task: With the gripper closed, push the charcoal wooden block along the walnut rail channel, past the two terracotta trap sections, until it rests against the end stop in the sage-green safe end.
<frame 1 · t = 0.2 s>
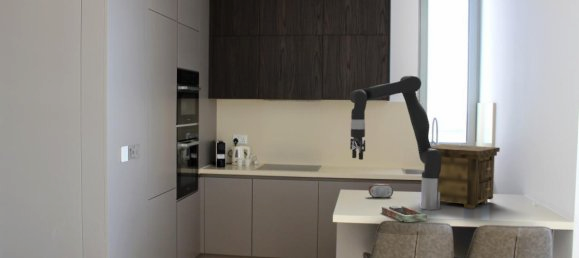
hand: (357, 158, 302), 28 cm above the counter, tool pointing down, fingers open, 8 cm apart
tin: (380, 197, 352), on the counter
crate: (458, 203, 337), on the counter
block: (395, 213, 302), on the counter
track: (403, 216, 293), on the counter
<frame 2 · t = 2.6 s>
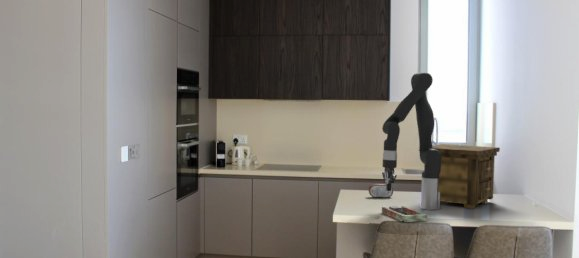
hand: (388, 190, 309), 11 cm above the counter, tool pointing down, fingers closed
nothing on the counter moved.
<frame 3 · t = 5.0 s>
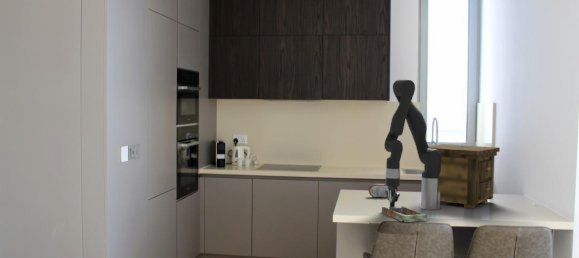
hand: (392, 209, 305), 2 cm above the counter, tool pointing down, fingers closed
block: (395, 213, 301), on the counter, touching gripper
everything else where it was.
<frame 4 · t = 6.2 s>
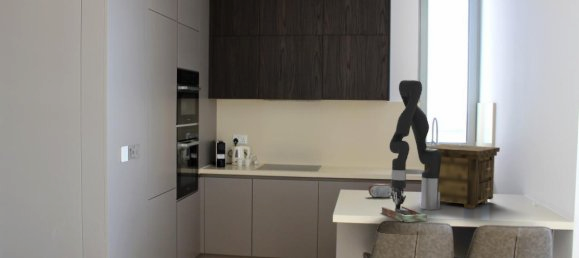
hand: (397, 211, 299), 2 cm above the counter, tool pointing down, fingers closed
block: (401, 216, 295), on the counter, touching gripper
everything else where it was.
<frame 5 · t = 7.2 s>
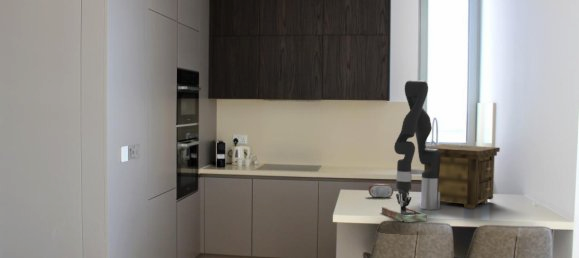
hand: (403, 213, 293), 2 cm above the counter, tool pointing down, fingers closed
block: (407, 218, 289), on the counter, touching gripper
everything else where it was.
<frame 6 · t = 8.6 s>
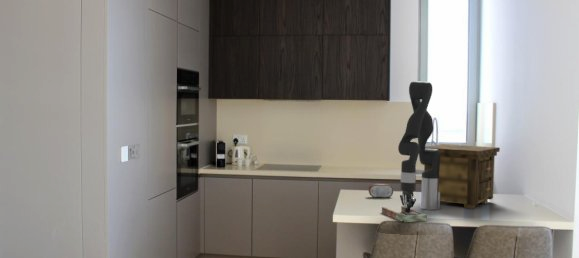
hand: (407, 215, 289), 2 cm above the counter, tool pointing down, fingers closed
block: (411, 220, 285), on the counter, touching gripper, track
everything else where it was.
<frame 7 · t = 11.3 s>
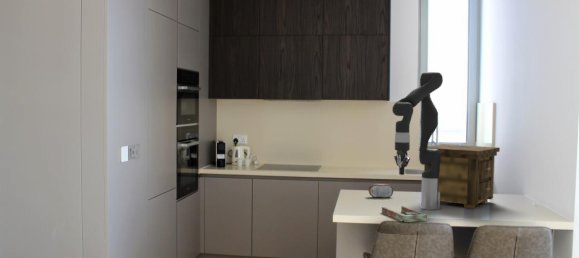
hand: (401, 174, 296), 21 cm above the counter, tool pointing down, fingers closed
block: (411, 220, 285), on the counter
everything else where it was.
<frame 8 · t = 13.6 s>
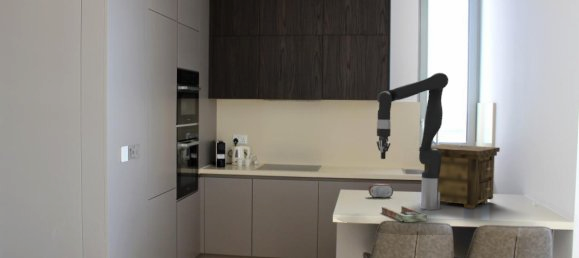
hand: (383, 158, 318), 27 cm above the counter, tool pointing down, fingers closed
nothing on the counter moved.
at the end: block 0.3 cm from the target spot, on the counter; block tilted 0° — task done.
